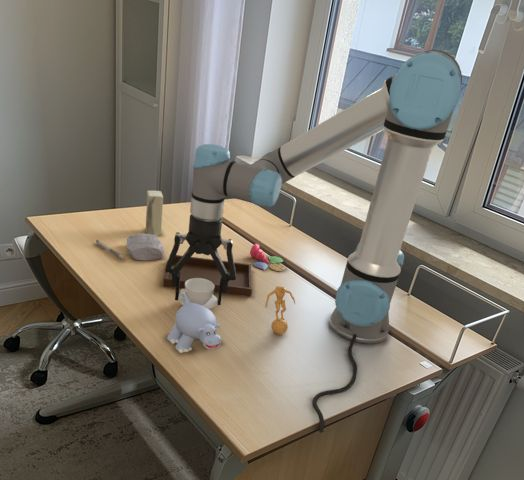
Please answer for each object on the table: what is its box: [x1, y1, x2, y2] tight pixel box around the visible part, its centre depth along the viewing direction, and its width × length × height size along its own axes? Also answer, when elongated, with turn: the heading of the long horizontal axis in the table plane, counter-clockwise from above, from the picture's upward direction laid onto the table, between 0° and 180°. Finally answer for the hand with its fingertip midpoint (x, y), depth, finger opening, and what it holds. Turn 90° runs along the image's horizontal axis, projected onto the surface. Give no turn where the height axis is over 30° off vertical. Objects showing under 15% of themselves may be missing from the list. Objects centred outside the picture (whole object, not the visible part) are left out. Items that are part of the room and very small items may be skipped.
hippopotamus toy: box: [166, 292, 222, 354], centre depth 123 cm, size 11×15×10 cm
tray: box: [162, 254, 253, 298], centre depth 153 cm, size 16×24×2 cm, turn 92°
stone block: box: [126, 233, 164, 262], centre depth 160 cm, size 12×5×10 cm
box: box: [145, 190, 164, 236], centre depth 170 cm, size 5×4×13 cm
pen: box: [95, 239, 125, 260], centre depth 157 cm, size 1×14×1 cm, turn 47°
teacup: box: [178, 278, 218, 310], centre depth 137 cm, size 10×10×5 cm
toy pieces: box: [249, 243, 286, 272], centre depth 166 cm, size 12×11×4 cm
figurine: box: [264, 285, 296, 335], centre depth 132 cm, size 8×6×12 cm
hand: (198, 299), depth 138 cm, fingers closed on teacup, 10 cm apart
